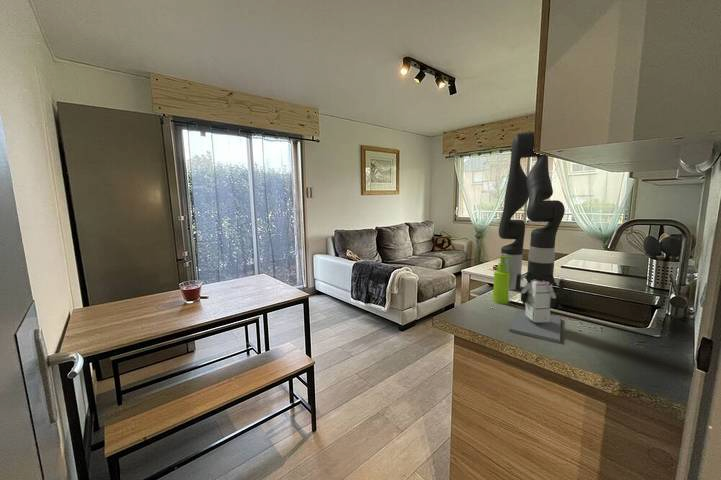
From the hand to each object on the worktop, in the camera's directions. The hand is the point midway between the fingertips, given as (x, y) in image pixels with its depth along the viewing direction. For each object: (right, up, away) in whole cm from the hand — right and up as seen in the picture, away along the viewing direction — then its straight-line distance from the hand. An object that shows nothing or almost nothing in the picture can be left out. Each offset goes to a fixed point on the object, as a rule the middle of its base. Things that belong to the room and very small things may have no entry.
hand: (537, 305), depth 99 cm
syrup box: (0, -5, +1) cm, 5 cm away
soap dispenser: (-1, -4, +24) cm, 24 cm away
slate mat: (0, -7, +1) cm, 7 cm away
